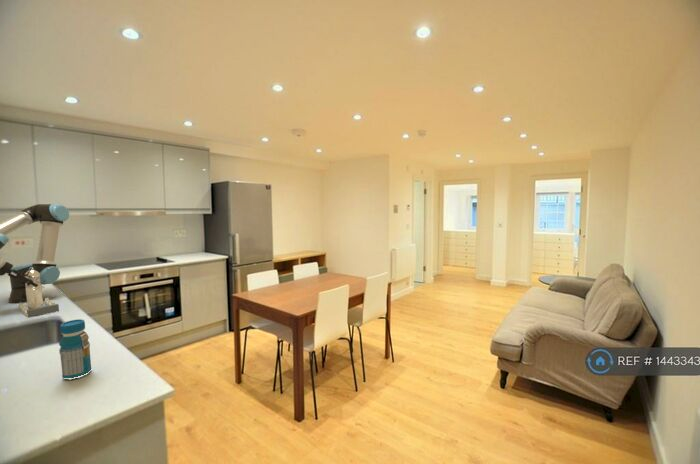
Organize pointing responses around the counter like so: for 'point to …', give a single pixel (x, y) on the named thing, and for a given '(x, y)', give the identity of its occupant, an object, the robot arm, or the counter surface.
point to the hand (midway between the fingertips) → (40, 287)
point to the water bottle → (33, 290)
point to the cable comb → (24, 308)
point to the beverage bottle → (74, 349)
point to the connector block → (42, 310)
